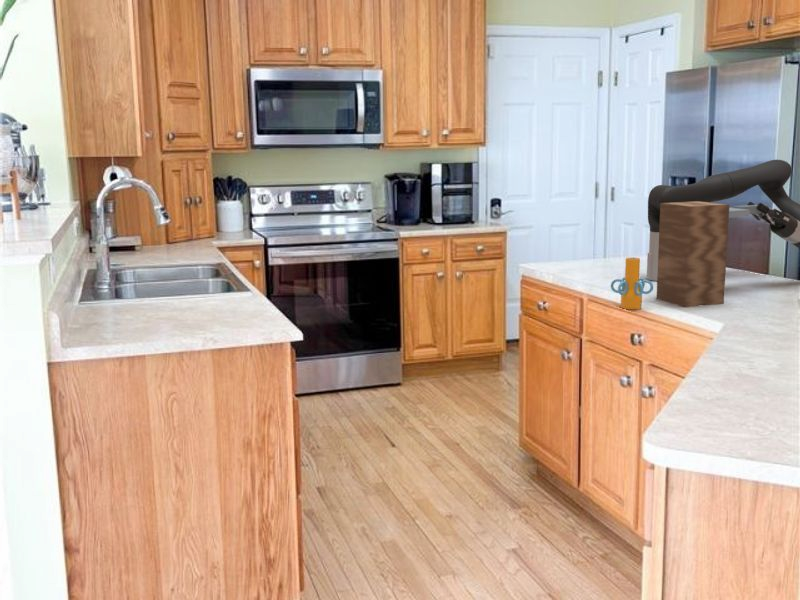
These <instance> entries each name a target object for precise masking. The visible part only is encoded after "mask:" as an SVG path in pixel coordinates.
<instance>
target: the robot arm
mask: <svg viewBox="0 0 800 600" xmlns="http://www.w3.org/2000/svg"><path fill="white" fill-rule="evenodd" d="M792 172H793V167H792V166H791V164H790V162H787V161H785V160H782V159H772V160H771V159H770V160H768V161H765V162H763V163H759V164H756V165H753V166H750V167H745V168H740V169H735V170H731V171H728V172H727V171H726V172H721V173H717V174H713V175H709V176H707V177H704V178H703V179H701V180H699V181H697V182H695V183H690V184H684V185H683V184H682V185H666V184H659V185H656V186H654V187H652V189H651V190H650V191H649V194H648V198H647V199H648V200H647V221H648V226H649V240H648V241H649V245H648V252H647V259H646V261H647V264H646V265H647V266H646V280H649V281H654V282H657V273H658V250H659V226H660V203H675V202H695V201H701V202H711V203H715V202H719V201H725V200H728V199H732V198H734V197H737V196H739V195H741V194H743V193H745V192H747V191H748V190H750V189H752V188H754V187H756V186H758V187H759V189H761V191H762V192H763V194H765V196H767V197H768V199H769V200H770V201H772V203H773V204H774V205H775V206H776V207H777V208H772V207H769V208H768V207H767V206H765V205H766V204H764V203H762V202H759V203H757V204H755V203H753V202H752V201H749V202H747V205H757V209H758V210H759V211H761V212H762V213H761V214H750V215H752V217H753V218H755V219H756V221H763V222H765V224H767V225H769V230H770V231H771V232H772V233H774V234H775V235H776V236H778V237H780V238H781V239H783V240H784V241H786V242H787V243H790V244H791V245H793V246H794V247H796V248H798V249H799V250H800V203H799V202H796V201H795V200H793V199H792V198H791V197H790V196H789V195H788V194H787V192H786V190H785V188H784V186H785V185H786V183H787V182H788V181H789V179H790V177H791V176H792Z"/></svg>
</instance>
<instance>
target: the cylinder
mask: <svg viewBox="0 0 800 600" xmlns="http://www.w3.org/2000/svg"><path fill="white" fill-rule="evenodd" d="M640 262H641V259H640V257H636V256H635V257H633V256H632V257H631V256H630V257H625V270H624V271H625V273H624V277H622V279H621V278H615V279H613V280H612V282H611V283H610V289H611V291H612V292H614V293H617V294H619V295H620V308H621V309H623V310H631V311H634V310H636V311H637V310H641V309H642V301H643V294H644V295H649V294H650V293H652V292H653V291H654V284H653V282H652V280H647V279H644V278H643V277H640V267H641V266H640V264H641V263H640ZM618 282H619V284H618V287H617V289H616V288H614V285H615V283H618ZM647 283H648V284H649V286H650V288H649V290H647V291H645V290H644V288H645V284H647Z"/></svg>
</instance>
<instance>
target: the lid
mask: <svg viewBox="0 0 800 600" xmlns="http://www.w3.org/2000/svg"><path fill="white" fill-rule="evenodd" d="M757 205H758V204H755V205H748V204H746V205H734V206H731V207H729V219H731V218H740V217H743V218H744V217H750V215H751V214H761V213H762V212H761V211H759V210H758V209H757ZM764 205H765V206H767V207H768V208H770V205H769V204H764Z"/></svg>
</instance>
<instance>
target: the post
mask: <svg viewBox="0 0 800 600" xmlns="http://www.w3.org/2000/svg"><path fill="white" fill-rule="evenodd" d="M729 208H730V204H729V203H719V202H701V201H695V202H675V203H660V226H659V250H658V273H657V281H656V300H659V301H663V302H666V303H670V304H672V305H675V306H680V307H683V308H690V306H692V307H700V306H699V305H703V306H710V305H711V306H712V304H713V305H721V304H722V305H723V304H724V303H725V287H726V286H725V285H726V271H727V253H728V235H729V221H730V218H729Z"/></svg>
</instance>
